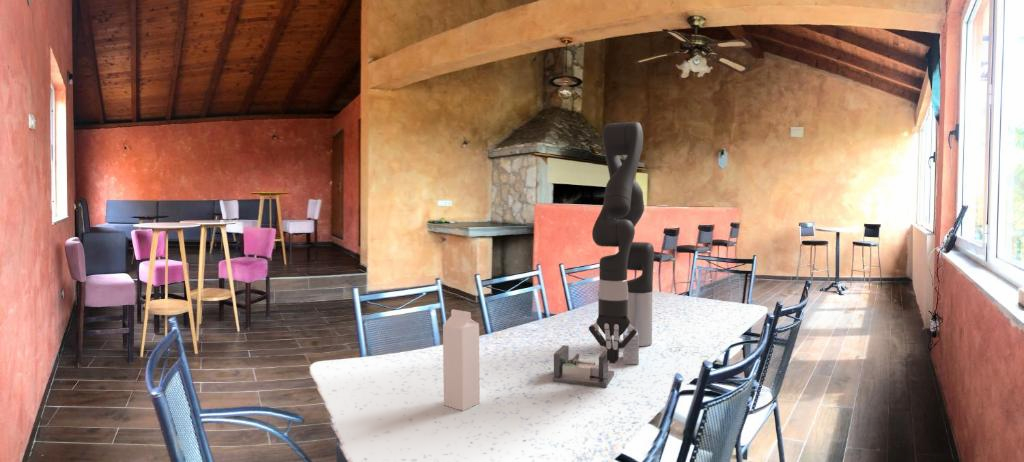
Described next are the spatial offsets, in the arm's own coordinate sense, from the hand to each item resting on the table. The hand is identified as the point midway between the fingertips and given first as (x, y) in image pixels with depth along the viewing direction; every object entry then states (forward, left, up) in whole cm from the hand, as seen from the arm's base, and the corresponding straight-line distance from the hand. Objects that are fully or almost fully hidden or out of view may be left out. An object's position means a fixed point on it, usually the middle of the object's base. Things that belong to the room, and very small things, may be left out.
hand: (612, 362), depth 140 cm
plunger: (0, -6, -4) cm, 7 cm away
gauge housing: (0, -8, -5) cm, 9 cm away
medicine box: (-20, +1, -5) cm, 21 cm away
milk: (+28, -30, -5) cm, 41 cm away
